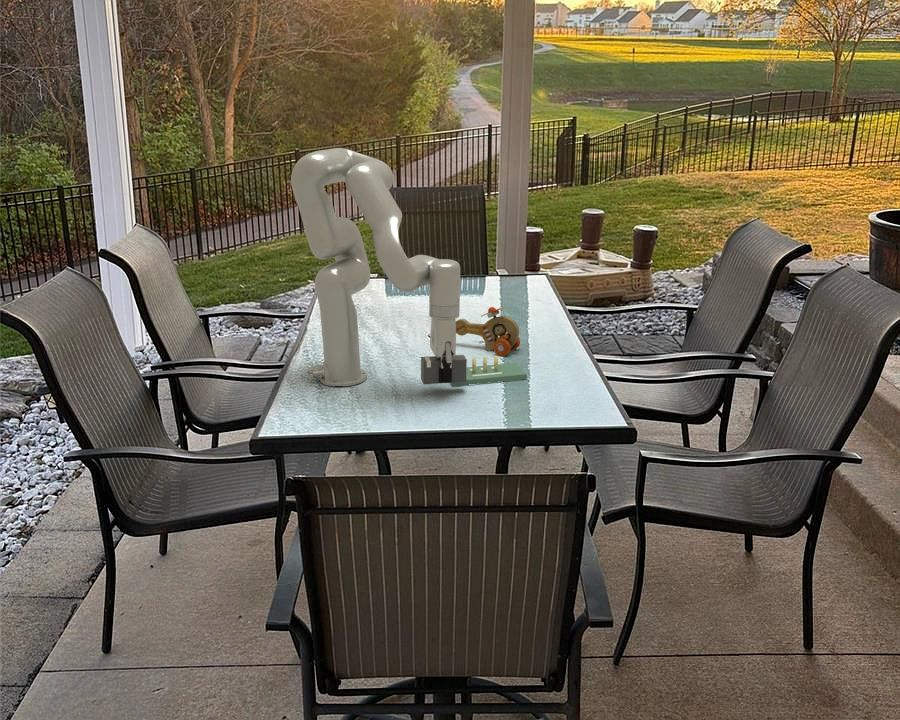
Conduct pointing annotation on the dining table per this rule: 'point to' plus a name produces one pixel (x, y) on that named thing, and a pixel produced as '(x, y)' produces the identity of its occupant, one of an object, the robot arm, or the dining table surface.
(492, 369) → the header board
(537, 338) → the dining table surface
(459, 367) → the block
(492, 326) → the toy helicopter
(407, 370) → the dining table surface
